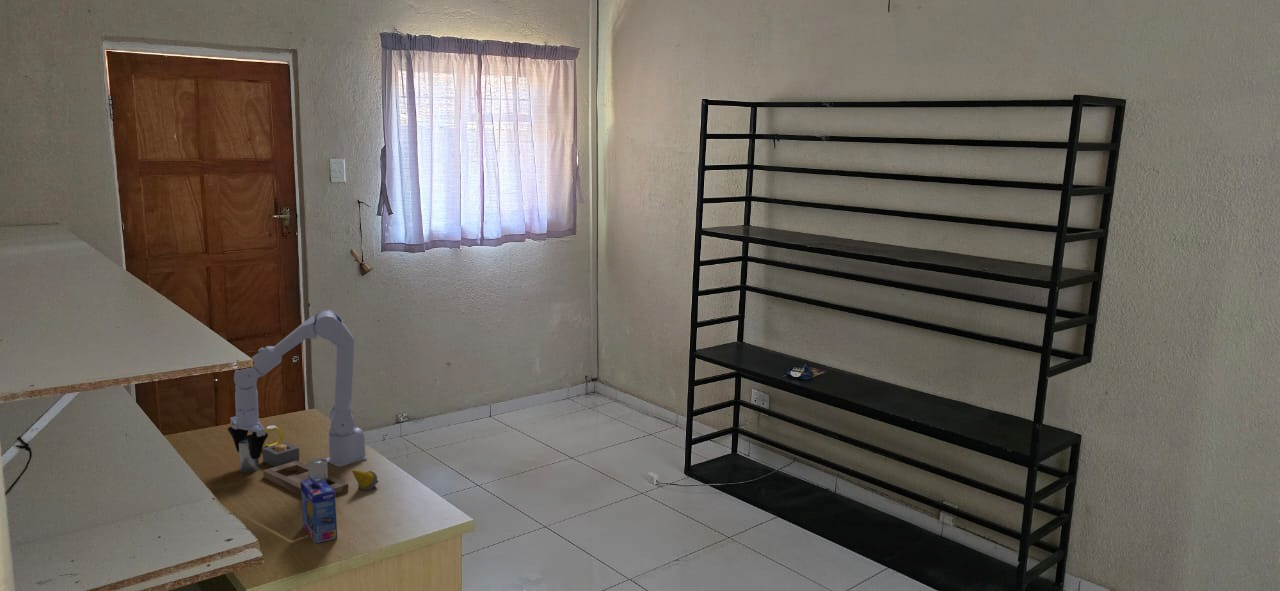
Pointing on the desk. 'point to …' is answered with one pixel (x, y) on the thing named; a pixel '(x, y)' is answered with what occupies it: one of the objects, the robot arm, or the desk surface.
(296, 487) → the frame
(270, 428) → the watch
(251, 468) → the steel billet
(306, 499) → the ink cartridge box
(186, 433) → the desk surface
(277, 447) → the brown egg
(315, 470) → the cylinder
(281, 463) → the button housing
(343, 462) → the robot arm
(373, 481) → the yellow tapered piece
